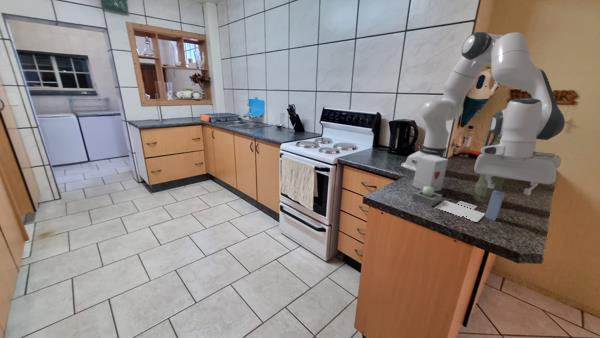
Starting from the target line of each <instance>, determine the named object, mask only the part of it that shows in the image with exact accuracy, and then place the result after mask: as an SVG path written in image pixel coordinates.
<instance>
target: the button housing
mask: <svg viewBox="0 0 600 338" xmlns="http://www.w3.org/2000/svg"><path fill="white" fill-rule="evenodd" d="M422 192H423V189H419V190H417V191H415V192H414V193H413V194H412V199H414V200H416V201H419V202H421V203H420V204H422V203H424V204H423V205H425V204H427V205H430V206H433V207H435V206H436V205H437V203H438V204H440V203H441V201H442V196H443V194H439V193H437V192H434V193H433V197H432V198H430V197H427V196H424V195H422ZM412 199H411V200H412ZM414 200H413V201H414ZM416 201H415V202H416ZM419 202H418V203H419ZM435 204H436V205H435ZM427 205H426V206H427ZM430 206H429V207H430Z"/></svg>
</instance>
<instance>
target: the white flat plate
mask: <svg viewBox="0 0 600 338" xmlns="http://www.w3.org/2000/svg"><path fill="white" fill-rule="evenodd" d="M436 208H438V209H440V210H439V211H441V210H443V211H442V212H444V211H446V212H449V213H452V214H454V215H453V216H455V215H457V216H460V217H462V216H464V217H465V218H467V219H470V220H471V221H474V222H477V223H478V222H480V221H481V219H482V218H483V217H485V214H486V213H483V212H481V211H479V210H476V209H474V210H473V209H470V208H467V207H464V206H461V205H458V204H457V203H455V202H451V201H448V200H443V201H442V202H439V203H438V205H437V204H436V205H435V206H434V209H436ZM438 209H437V210H438ZM446 212H445V213H446ZM449 213H448V214H449ZM452 214H451V215H452ZM457 216H456V217H457ZM466 216H467V217H466ZM460 217H459V218H460ZM471 221H470V222H471ZM474 222H473V223H474Z"/></svg>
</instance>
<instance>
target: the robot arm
mask: <svg viewBox="0 0 600 338" xmlns="http://www.w3.org/2000/svg"><path fill="white" fill-rule="evenodd" d="M530 53H531V51H530V47H529V43H528V40H527V38H526V36H525V35H524V34H523V33H522V32H517V31H515V32H509V33H506V34H504V35H502V34H494V33H489V32H488V33H487V32H485V31H477V32H473V33H472V34H470V35H469V36H468V37H467V38H466V39H465V41H464V42H463V44H462V46H461V55H462V56H460V58H459V59H458V60H457V63H456V64H455V65H454V67H453V69H452V70H451V71H450V74H449V76H448V77H447V79H446V81H445V83H444V84H443V88H444V92H443V96H442V98H441V99H434V100H429V101H428V102H425V103H424V104H423V105H422V107H421V108H420V116H421V118H422V119H423V120H424V126H425V135H424V141H423V144H421V145H419V146H418V149H419V150H418V151H415V152H414V153H411V154H410V155H408V156H407V158H406V161H405V162H402V163H401V165H400V167H402V168H404V169H407V170H410V171H413V172H416V167H417V162H418V157H419V156H425V155H434V156H438V157H441V158H445V157H446V154H447V145H448V140H449V135H450V133H449V131H448V129H447V121H448V122H449V121H453V120H455V119H457V118H460V116H461V115H462V114H463V111H464V107H463V105H464V102H465V99H466V96H467V94H468V92H469V90H471V88H472V86H473V84H474V82H475V81H476V79H477V78H478V77H479V75H480V73H481V71H482V70H483V68H484V67H485V66H488V65H489V66H490V72H491V73H490V74H491V77H492V79H493V80H494V81H495V83H498V84H500V85H501V86H505V87H511V88H515V89H520V90H521V91H522V90H523V91H525V92H526V93H528V94H529V95H530V96H531V97H530V98H529V97H521V98H520V97H519V98H513V99H511V100H510V101H509V102H508V104H507V105H506V108H504V109H502V110H499V111H497V112H496V113H495V114H493V115H492V116H491V120H490V126H489V129H490V131H491V134H492V135H493V134H494V135H495V136H498V137H501V139H500V143H499V144H494V145H491V146H488V145H487V146H486V147H483V146H482V147H481V148H480V153H481V154H479V155H478V156H477V158H476V160H475V163H474V169H473V170H474V172H475V174H479V175H481V174H484V175H486V176H485V178H486V180H487V182H488V188H494V185H495V183H492V181H491V179H490V178H491V177H492V176H497V177H504V178H505V179H512V180H518V181H524V182H529V183H530V186H531V187H529V188H524V189H523V195H524V196H530V195H531V194H532V190H533V189H535V188H536V187H537V186H538V185H539V184H544V185H552V184H554V183H555V182H556V179H557V178H556V177H557V169H559V168H560V166H561V163H562V159H561V157H560V156H559V155H558V154H557V155H556V154H555V153H551V152H542V151H541V152H538V151H536V147H537V143H538V140H542V141H547V140H551V139H552V138H554V137H556V136H558V135H559V134H560V133H562V132H563V130H564V127H565V126H566V125H565V123H566V122H565V120H566V119H565V116H564V114H563V113H562V111H561V109H560V108H559V106H558V104H557V101H556V97H555V95H554V93H553V89H552V86H551V84H550V82H549V79H548V76H547V75H546V72H545V71H544V70H543V69H541V68H539V67H538V66H536V65H535V63H533V62H532V59H531V55H530ZM445 159H446V158H445Z"/></svg>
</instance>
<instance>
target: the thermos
mask: <svg viewBox="0 0 600 338" xmlns="http://www.w3.org/2000/svg"><path fill="white" fill-rule="evenodd" d="M491 135H492V136H493V137H492V138H491ZM490 138H491V140H490ZM500 139H501V137H498V136H495V135H494V134H493V133H492V132H491V131H490V128H488V130H487V132H486V135H485V138H484V143H483V145H482V148H483V147H486V146H491V145H494V144H499V143H500ZM489 141H490V143H489ZM485 176H486V175H484V174H479V178H478V181H476V183H475V186H474V189H473V195H472V196H471V197H472V199H473V200H474V201H475V202H477V203H481V204H483V205H487V204H488V205H489V201H490V198H491V195H492V192H493V191H494V190H495V191H499V192H503V184H504V182H505V179H506V178H504V177H497V176H492V177H491V178H490V179H491V181H492V183H495V185H494V188H488V182H487V180H486V178H485ZM488 205H487V206H488Z"/></svg>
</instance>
